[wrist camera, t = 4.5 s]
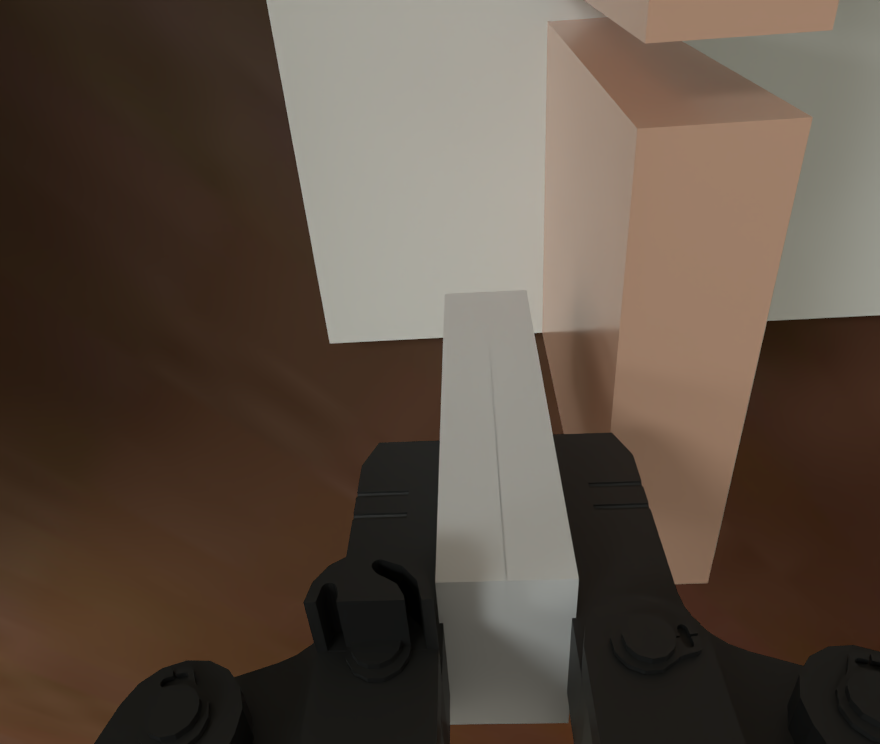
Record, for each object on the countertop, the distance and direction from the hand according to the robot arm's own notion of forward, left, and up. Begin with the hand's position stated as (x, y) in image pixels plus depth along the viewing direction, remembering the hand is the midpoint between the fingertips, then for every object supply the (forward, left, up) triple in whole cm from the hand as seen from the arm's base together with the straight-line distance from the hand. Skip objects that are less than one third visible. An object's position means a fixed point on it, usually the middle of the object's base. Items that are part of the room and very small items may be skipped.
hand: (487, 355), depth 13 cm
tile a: (+3, 0, -8) cm, 9 cm away
